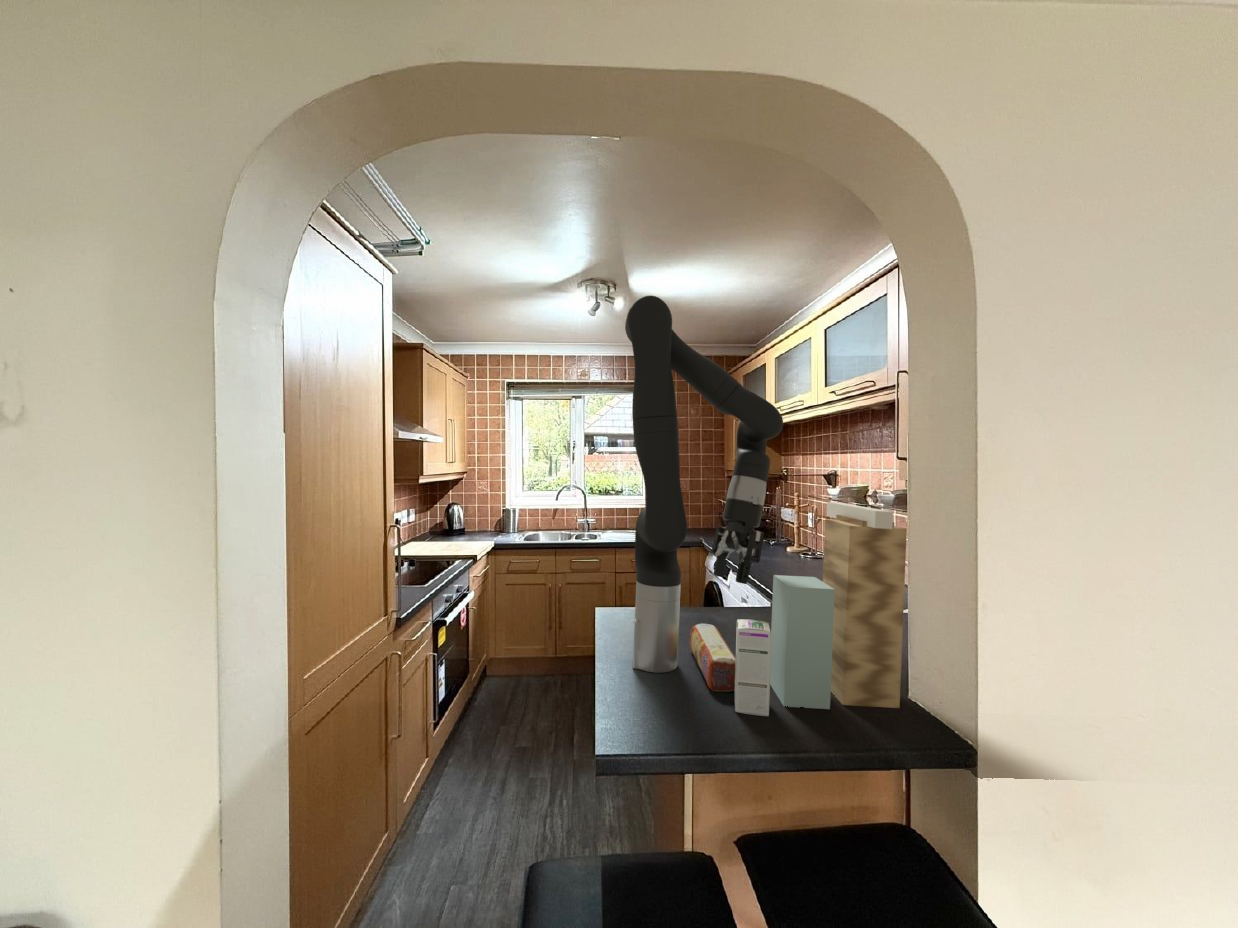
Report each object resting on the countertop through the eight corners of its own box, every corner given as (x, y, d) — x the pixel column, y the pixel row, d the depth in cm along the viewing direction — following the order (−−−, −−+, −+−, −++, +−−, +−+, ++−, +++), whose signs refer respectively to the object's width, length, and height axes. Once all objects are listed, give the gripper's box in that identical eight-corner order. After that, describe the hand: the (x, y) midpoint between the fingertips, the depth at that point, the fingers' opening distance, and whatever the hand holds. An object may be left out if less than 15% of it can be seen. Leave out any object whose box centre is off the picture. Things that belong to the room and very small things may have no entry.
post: (783, 706, 90) (788, 586, 90) (769, 682, 100) (773, 574, 100) (829, 709, 90) (834, 589, 90) (810, 684, 100) (814, 576, 100)
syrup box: (769, 717, 86) (773, 630, 86) (733, 712, 87) (737, 627, 87) (766, 702, 92) (770, 620, 92) (733, 697, 93) (736, 617, 93)
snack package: (741, 694, 95) (743, 657, 95) (705, 693, 95) (707, 656, 95) (717, 652, 116) (718, 622, 116) (688, 651, 116) (689, 621, 116)
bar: (874, 528, 90) (875, 511, 90) (826, 515, 113) (826, 502, 113) (892, 528, 90) (893, 511, 90) (840, 516, 113) (840, 502, 113)
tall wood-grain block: (842, 704, 92) (850, 520, 92) (818, 677, 104) (825, 514, 104) (899, 707, 92) (906, 522, 92) (868, 680, 104) (875, 516, 104)
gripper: (711, 496, 111) (696, 571, 109) (749, 496, 98) (732, 581, 96) (741, 504, 113) (726, 577, 111) (781, 506, 100) (766, 589, 98)
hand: (729, 579), depth 103 cm, fingers open, 8 cm apart
